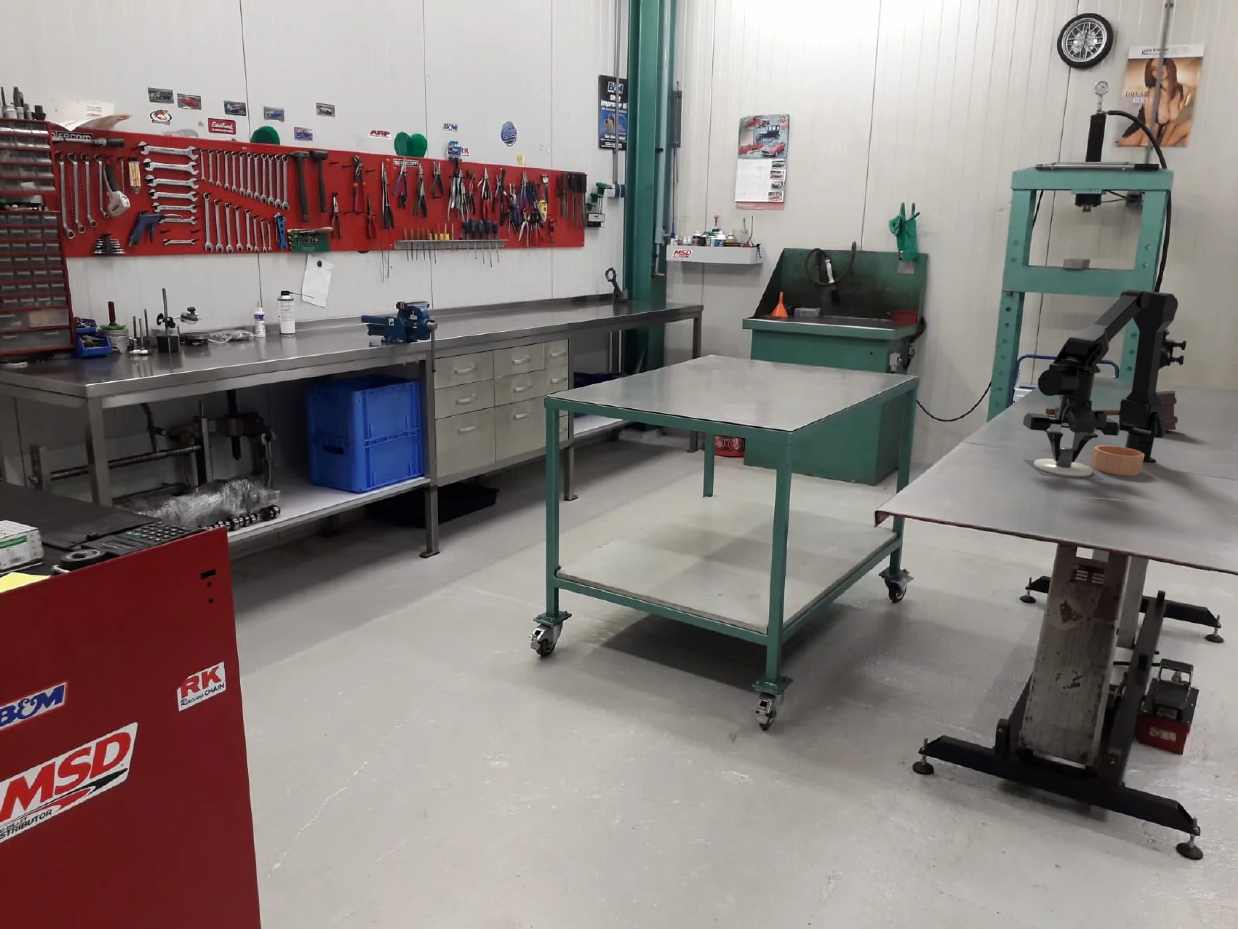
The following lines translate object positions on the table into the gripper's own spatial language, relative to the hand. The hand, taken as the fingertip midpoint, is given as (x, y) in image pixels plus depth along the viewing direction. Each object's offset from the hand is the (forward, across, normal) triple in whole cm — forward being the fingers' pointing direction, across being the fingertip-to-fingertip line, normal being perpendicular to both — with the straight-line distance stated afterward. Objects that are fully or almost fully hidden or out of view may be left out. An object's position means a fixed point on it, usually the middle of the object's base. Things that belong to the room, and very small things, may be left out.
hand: (1063, 461), depth 204 cm
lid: (+2, 0, 0) cm, 2 cm away
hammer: (+2, +32, +58) cm, 67 cm away
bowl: (+2, +13, +4) cm, 14 cm away
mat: (+2, 0, 0) cm, 2 cm away
